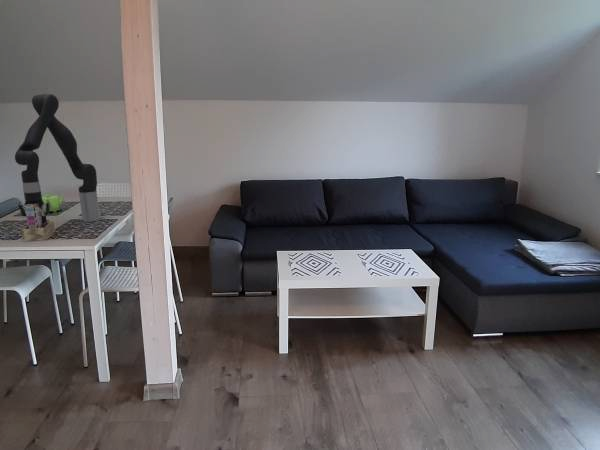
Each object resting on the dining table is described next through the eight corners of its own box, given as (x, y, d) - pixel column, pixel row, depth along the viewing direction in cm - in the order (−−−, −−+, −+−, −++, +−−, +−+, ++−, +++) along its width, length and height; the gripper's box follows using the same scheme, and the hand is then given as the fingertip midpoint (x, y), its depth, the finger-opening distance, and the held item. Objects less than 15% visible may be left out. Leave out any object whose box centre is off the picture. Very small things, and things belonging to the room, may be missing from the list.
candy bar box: (40, 236, 224) (33, 205, 220) (29, 237, 223) (23, 205, 219) (49, 230, 235) (43, 200, 230) (39, 231, 234) (33, 201, 230)
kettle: (68, 210, 289) (66, 193, 286) (51, 215, 276) (48, 197, 273) (50, 208, 294) (48, 192, 291) (32, 213, 281) (29, 196, 278)
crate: (54, 231, 238) (53, 220, 237) (47, 239, 223) (45, 228, 221) (31, 232, 235) (30, 222, 234) (22, 241, 220) (20, 230, 218)
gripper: (49, 188, 229) (54, 220, 233) (18, 190, 225) (23, 222, 229) (46, 191, 222) (51, 223, 226) (13, 193, 218) (19, 226, 222)
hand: (37, 223), depth 227 cm, fingers open, 5 cm apart
